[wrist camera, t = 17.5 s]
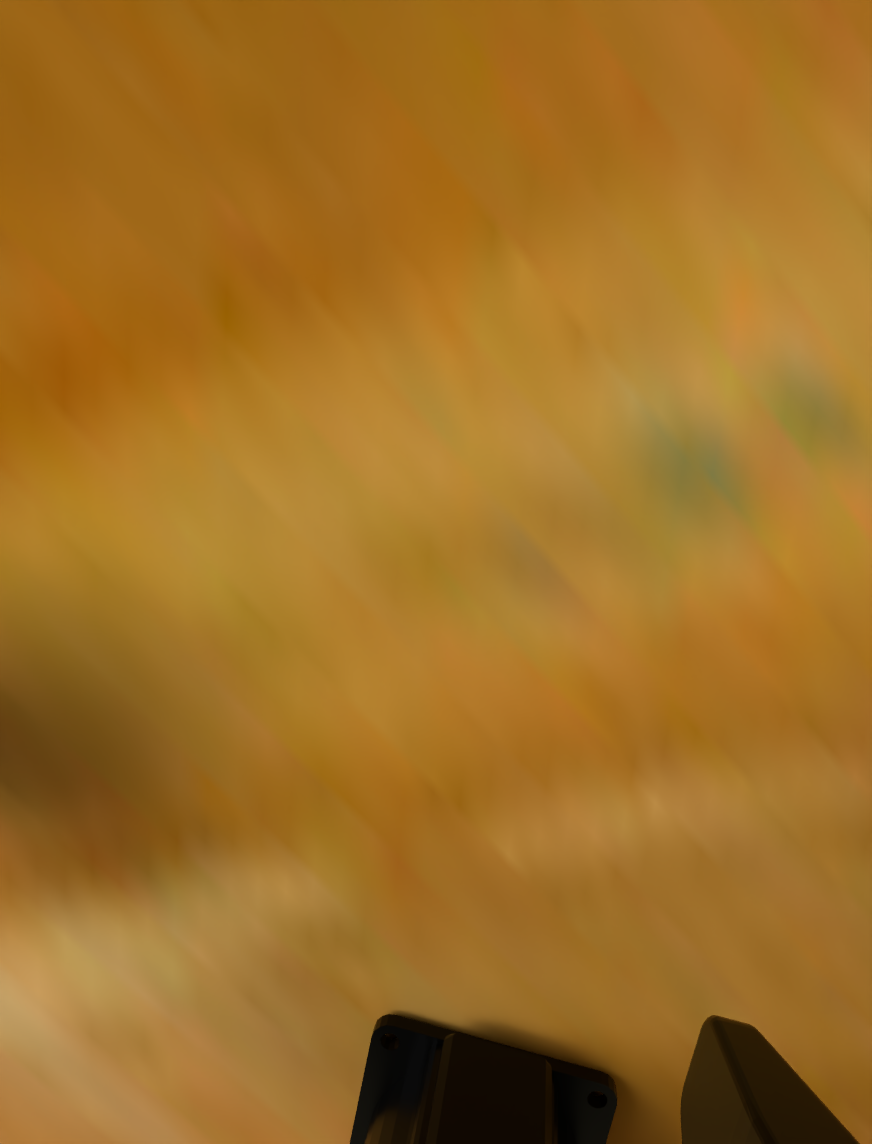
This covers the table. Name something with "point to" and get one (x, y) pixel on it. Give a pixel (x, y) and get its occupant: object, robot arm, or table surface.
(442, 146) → the table surface
